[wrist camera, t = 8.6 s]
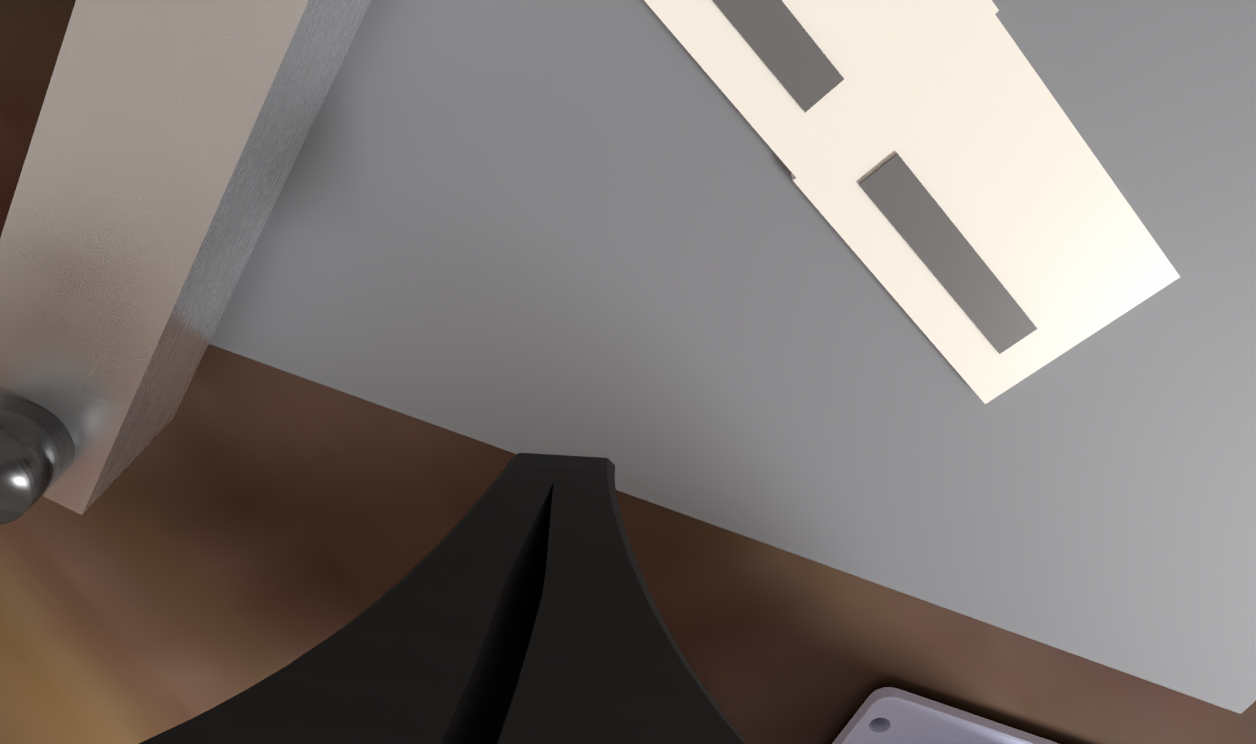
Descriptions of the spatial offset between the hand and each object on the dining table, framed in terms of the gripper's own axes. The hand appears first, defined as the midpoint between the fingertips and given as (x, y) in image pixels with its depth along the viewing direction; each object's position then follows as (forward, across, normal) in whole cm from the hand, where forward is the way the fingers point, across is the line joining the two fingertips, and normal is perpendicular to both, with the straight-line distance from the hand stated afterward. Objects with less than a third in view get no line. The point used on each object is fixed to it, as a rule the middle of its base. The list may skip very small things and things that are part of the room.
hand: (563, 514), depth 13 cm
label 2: (+6, -7, -3) cm, 9 cm away
